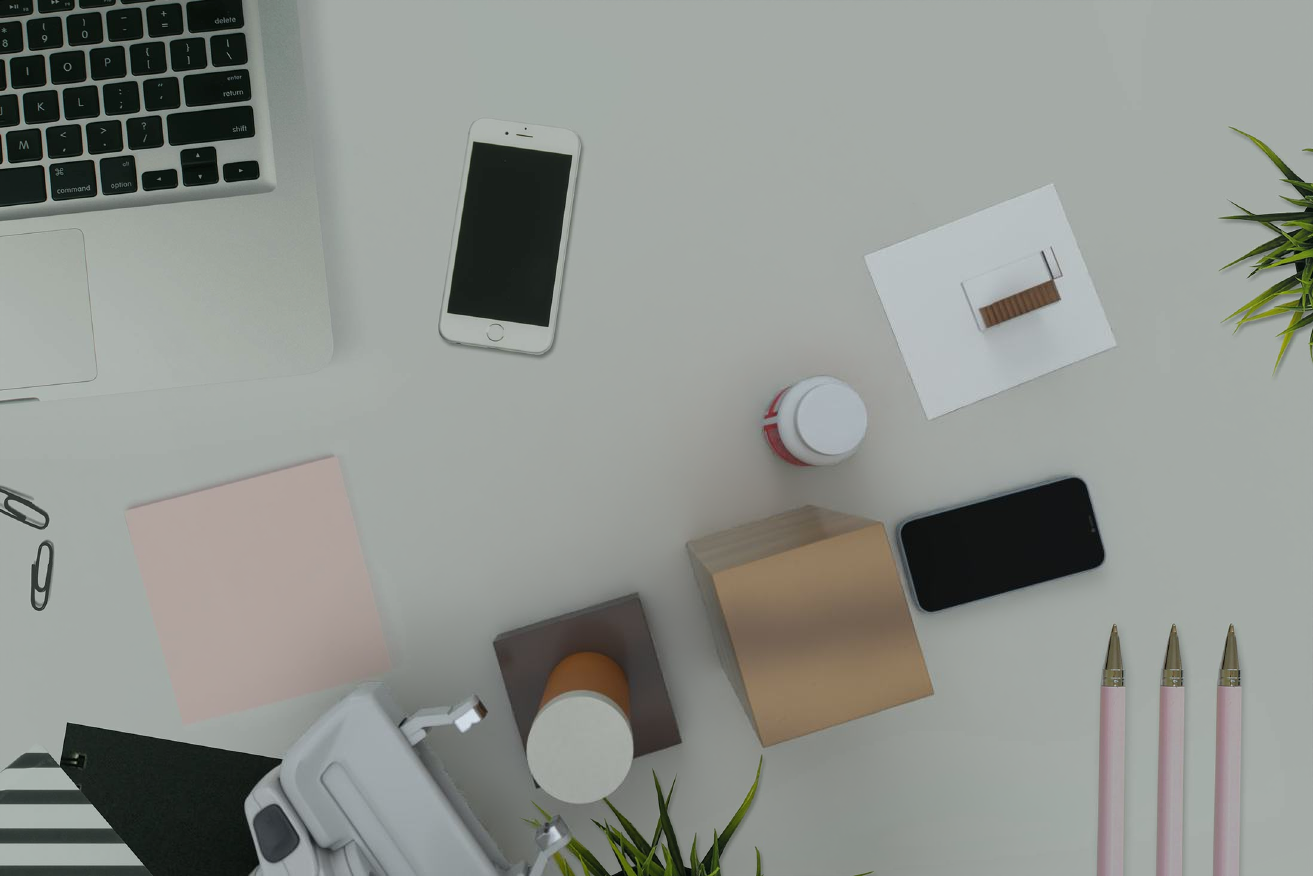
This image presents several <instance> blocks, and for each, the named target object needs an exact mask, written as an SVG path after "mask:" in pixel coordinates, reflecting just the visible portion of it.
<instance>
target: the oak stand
mask: <svg viewBox="0 0 1313 876" xmlns="http://www.w3.org/2000/svg"><path fill="white" fill-rule="evenodd" d="M685 547H686V551H687V553H688V557H689V560H690V563H691V566H692V569H693V573H694V576H695V580H696V583H697V586H698V590H699V593H700V596H701V599H702V603H703V607H704V609H705V612H706V613H705V614H706V617H707V620H708V623H709V626H710V627H709V628H710V630H711V633H712V636H713V640H714V643H715V647H716V650H717V653H718V657H719V660H720V663H721V667H722V669H723V672H724V674H725V676H726V677H727V679H728V681H729V684H730V685H731V688H732V690H733V691H734V693H735V695H736V697H737V700H738V701H739V704H740V706H741V708H742V709H743V711H744V713H745V715H746V718H747V719H748V721H749V723H750V725H751V727H752V729H753V731H754V733H755V735H756V737H757V739H758V741H759V743H760V745H761V747H762V748H763V749H765V748H769V747H772V746H775V745H778V744H779V745H780V744H782V743H784V742H788V741H790V740H794V739H796V738H800V737H803V736H806V735H810V734H813V733H817V732H819V731H823V730H826V729H829V728H832V727H835V726H838V725H842V724H846V723H847V722H851V721H854V720H858V719H861V718H864V717H867V716H870V715H873V714H877V713H880V712H882V711H886V710H889V709H890V710H891V709H892V708H896V707H899V706H902V705H905V704H909V703H912V702H915V701H918V700H921V699H924V698H928V697H931V696H934V695H935V691H934V687H933V684H932V681H931V677H930V675H929V674H930V673H929V671H928V667H927V664H926V661H925V657H924V654H923V651H922V647H921V644H920V641H919V638H918V634H917V631H916V628H915V624H914V620H913V618H912V614H911V611H910V608H909V605H908V602H907V601H908V600H907V598H906V594H905V591H904V588H903V585H902V581H901V578H900V574H899V571H898V568H897V565H896V562H895V561H896V560H895V558H894V555H893V551H892V548H891V544H890V542H889V539H888V535H887V532H886V528H885V524H884V522H883V521H880V520H876V519H872V518H867V517H863V516H859V515H854V514H850V513H846V512H841V511H837V510H834V509H828V508H824V507H821V506H816V505H812V504H809V505H805V506H803V507H799V508H795V509H793V510H790V511H785V512H783V513H779V514H775V515H772V516H769V517H767V518H763V519H759V520H755V521H753V522H749V523H746V524H743V525H740V526H737V527H733V528H730V529H726V530H723V531H719V532H716V533H714V534H709V535H707V536H704V537H703V536H702V537H700V538H697V539H694V540H691V541H687V542H686V543H685Z"/></svg>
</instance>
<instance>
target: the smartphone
mask: <svg viewBox="0 0 1313 876" xmlns="http://www.w3.org/2000/svg"><path fill="white" fill-rule="evenodd" d="M895 533H896V534H895V535H896V539H897V543H898V544H897V545H898V547H899V551H900V554H901V559H902V562H903V566H904V570H905V573H906V577H907V580H908V585H909V589H910V592H911V596H912V599H913V602H914V605H915V606H916V607H917V609H919V610H920V611H922V612H924V613H926V614H930V615H931V614H937V613H941V612H945V611H948V610H951V609H955V608H956V609H957V608H959V607H963V606H967V605H970V604H973V603H977V602H982V601H985V600H989V599H992V598H996V597H1000V596H1004V595H1007V594H1011V593H1015V592H1018V591H1022V590H1025V589H1029V588H1032V587H1036V586H1040V585H1043V584H1047V583H1051V582H1054V581H1059V580H1063V579H1065V578H1070V577H1073V576H1076V575H1077V576H1078V575H1081V574H1085V573H1088V572H1092V571H1095V570H1098V569H1100V568H1101V567H1102V566H1103V565H1104V564H1105V562H1106V559H1107V550H1106V546H1105V543H1104V540H1103V536H1102V533H1101V527H1100V525H1099V522H1098V517H1097V513H1096V511H1095V507H1094V503H1093V499H1092V496H1091V491H1090V489H1089V486H1088V483H1087V482H1086V480H1085V479H1083V478H1082V477H1081V476H1078V475H1065V476H1062V477H1058V478H1054V479H1050V480H1046V481H1042V482H1038V483H1035V484H1032V485H1031V484H1030V485H1028V486H1024V487H1020V488H1016V489H1013V490H1008V491H1006V492H1001V493H998V494H994V495H991V496H990V495H989V496H987V497H982V498H979V499H975V500H972V501H969V502H965V503H961V504H957V505H954V506H950V507H945V508H942V509H938V510H934V511H931V512H926V513H923V514H919V515H916V516H912V517H908V518H906V519H903V520H902V521H901V522H899V524H898V526H897V528H896V532H895Z"/></svg>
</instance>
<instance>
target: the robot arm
mask: <svg viewBox="0 0 1313 876" xmlns="http://www.w3.org/2000/svg"><path fill="white" fill-rule="evenodd" d="M488 713H489V711H488V709H487V708H486V706H485V705H484V703H483V702H482V701H481V699H480V697H479V695H478V694H477V693H472V694H471V695H469V696H468V697H467V698H464V700H462V701H461V702H459V703H458V704H456V705H455V706H452V705H449V706H436V707H425V708H423V707H422V708H421V709H419V710H418V711H416V712H415V713H413V714H412V715H411V716H408V715H407V713H406V712H405V711H404V709H403V708H402V706H401V705H400V704H399V702H398V700H397V699H396V698H395V696H394V694H393V693H392V692H391V690H390V689H389V687H388V686H387V685H386V683H384V682H380V681H364V682H362V683H360V684H359V685H357V686H356V687H355V688H354V689H352V690H351V691H350V692H348V693H347V694H346V695H345V696H344V697H342V698H341V699H340V700H339V701H337V702H336V703H335V704H334V705H333V706H331V707H330V708H329V709H328V710H326V711H325V713H324V714H322V715H321V716H320V717H319V718H318V719H317V720H316V721H315V722H314V723H313V724H312V725H310V727H308V728H307V730H306V731H304V732H303V733H302V734H301V735H300V737H298V738H297V739H296V740H295V741H294V743H293V744H292V745H291V746H290V747H289V749H288V750H287V751H286V752H285V755H284V757H283V758H282V761H281V763H280V764H279V765H277V766H276V767H274V768H272V769H271V770H270V771H268V773H266V774H265V775H264V776H263V777H262V778H261V779H260V780H259V781H258V782H257V783H256V784H255V785H254V787H253V788H252V789H251V791H250V792H249V794H248V796H247V797H246V799H245V801H244V814H245V817H246V820H247V823H248V826H249V827H248V828H249V830H250V833H251V837H252V839H253V840H252V841H253V843H254V847H255V850H256V854H257V858H258V861H259V864H258V865H256V867H255V868H253V870H252V871H251V872H250V873H249V874H248V876H542V875H543V873H544V871H545V869H546V866H547V865H548V862H549V860H550V857H552V856H553V855H555V854H556V853H557V852H559V851H561V850H562V849H563V848H564V847H566V846H567V845H569V843H570V842H571V841H572V837H573V832H572V830H571V829H570V828H569V826H568V825H567V823H566V822H565V820H564V819H563V818H562V816H561V815H560V814H555V815H554V816H552V817H551V818H550V821H549V822H544V823H542V824H541V825H539V826H538V827H537V828H536V830H535V831H536V832H535V833H536V834H535V835H534V841H535V843H537V845H538V846H539V847H538V849H537V851H536V854H535V855H534V858H533V860H532V861H531V864H530V863H529V862H528V860H527V859H525V858H523V859H521V860H520V861H518V862H517V863H515V864H514V865H511V864H510V863H509V861H508V860H507V859H506V857H505V855H504V854H503V852H502V851H501V850H500V848H499V847H498V845H497V844H496V842H495V841H494V839H493V838H492V837H491V835H490V834H489V832H488V831H487V829H486V828H485V827H484V825H483V823H482V822H481V820H480V819H479V818H478V816H477V814H476V813H475V812H474V811H473V809H472V807H471V806H470V805H469V803H468V802H467V800H466V799H465V797H464V796H463V794H462V793H461V792H460V790H459V789H458V787H457V786H456V784H455V782H453V779H452V778H451V777H450V776H449V774H448V773H447V771H446V770H445V769H444V768H443V766H442V764H441V763H440V761H439V760H438V758H437V757H436V756H435V754H434V753H433V751H432V750H431V748H430V747H429V746H428V744H427V742H426V741H425V740H424V739H425V738H426V737H427V736H428V735H429V733H430V732H431V730H432V729H433V727H438V726H449V725H455V726H456V728H457V729H458V730H459V732H460V734H464V733H466V732H467V731H468V730H470V729H471V728H472V726H473V724H474V725H476V724H478V723H480V722H481V721H482V720H484V719H485V718H486V717H487V715H488Z"/></svg>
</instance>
